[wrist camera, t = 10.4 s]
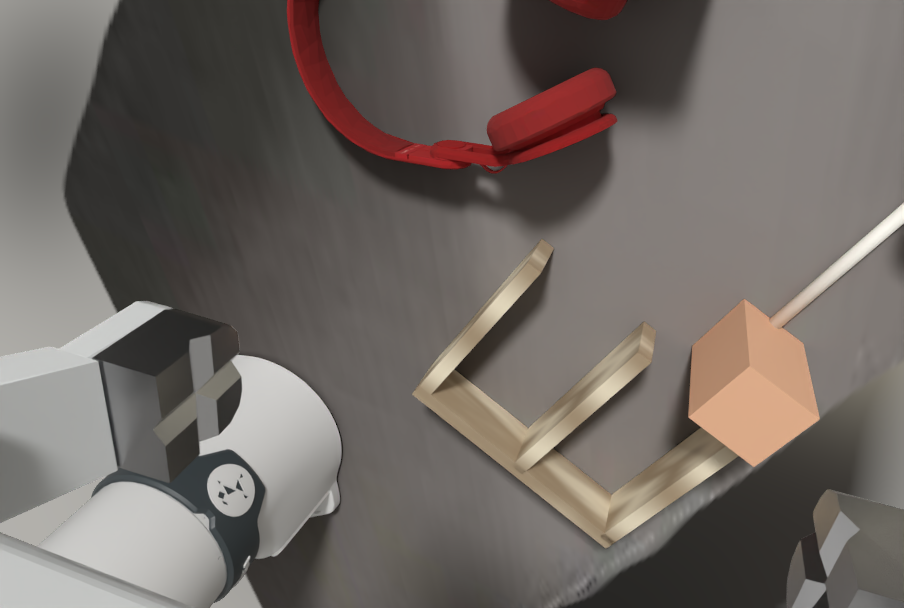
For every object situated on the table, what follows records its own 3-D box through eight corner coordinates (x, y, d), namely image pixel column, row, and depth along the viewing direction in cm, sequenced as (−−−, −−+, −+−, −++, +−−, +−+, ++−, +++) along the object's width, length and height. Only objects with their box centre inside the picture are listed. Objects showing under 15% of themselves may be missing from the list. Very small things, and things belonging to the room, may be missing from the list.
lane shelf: (612, 509, 53) (606, 548, 49) (431, 365, 52) (411, 394, 49) (751, 408, 45) (754, 445, 42) (541, 238, 45) (528, 262, 41)
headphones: (664, -120, 34) (326, -117, 42) (628, -133, 28) (246, -127, 36) (622, 175, 41) (339, 130, 49) (587, 211, 35) (273, 154, 43)
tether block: (748, 388, 45) (753, 467, 38) (692, 345, 45) (688, 417, 38) (1018, 168, 35) (1091, 222, 28) (947, 113, 35) (1003, 154, 28)
